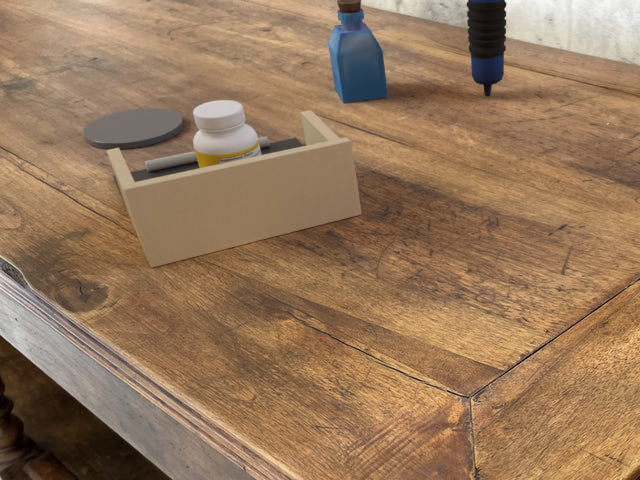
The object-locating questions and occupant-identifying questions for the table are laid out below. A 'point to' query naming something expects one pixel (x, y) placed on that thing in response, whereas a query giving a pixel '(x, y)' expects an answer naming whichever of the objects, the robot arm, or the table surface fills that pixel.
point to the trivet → (133, 128)
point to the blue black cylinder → (487, 41)
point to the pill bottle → (223, 134)
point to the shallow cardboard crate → (239, 194)
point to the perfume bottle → (356, 56)
